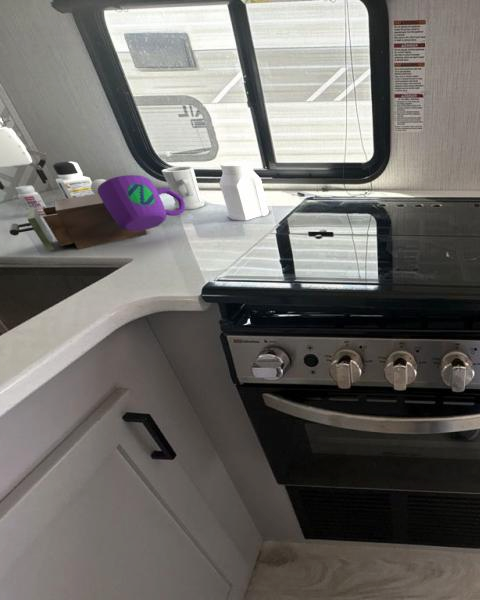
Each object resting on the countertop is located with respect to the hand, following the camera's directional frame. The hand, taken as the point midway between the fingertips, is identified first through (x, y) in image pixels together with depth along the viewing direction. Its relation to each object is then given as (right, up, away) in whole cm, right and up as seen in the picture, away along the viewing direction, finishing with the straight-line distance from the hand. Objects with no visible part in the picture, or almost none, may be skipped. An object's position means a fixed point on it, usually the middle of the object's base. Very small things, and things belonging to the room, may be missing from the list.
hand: (24, 185), depth 103 cm
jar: (+71, -9, 0) cm, 71 cm away
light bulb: (+23, -7, +5) cm, 25 cm away
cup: (+48, -4, +8) cm, 48 cm away
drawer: (+33, -20, -19) cm, 43 cm away
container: (+2, +1, +17) cm, 18 cm away
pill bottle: (0, -8, +4) cm, 9 cm away
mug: (+56, -16, -19) cm, 61 cm away
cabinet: (+39, -18, -14) cm, 45 cm away
